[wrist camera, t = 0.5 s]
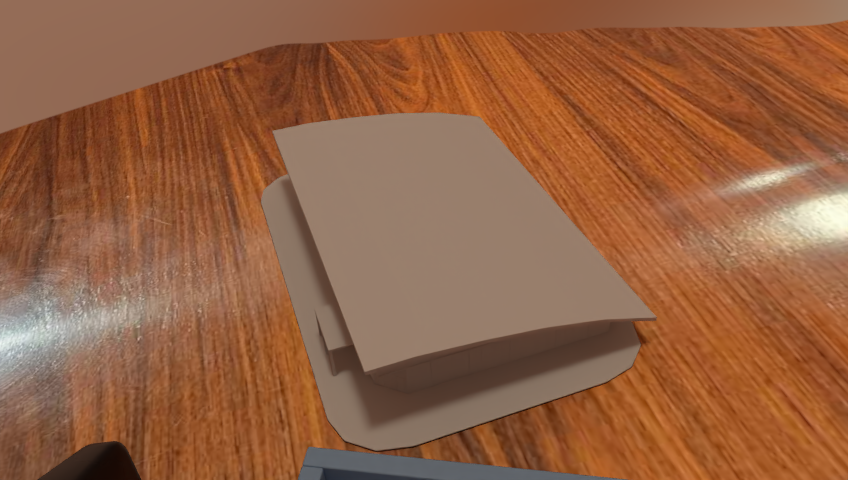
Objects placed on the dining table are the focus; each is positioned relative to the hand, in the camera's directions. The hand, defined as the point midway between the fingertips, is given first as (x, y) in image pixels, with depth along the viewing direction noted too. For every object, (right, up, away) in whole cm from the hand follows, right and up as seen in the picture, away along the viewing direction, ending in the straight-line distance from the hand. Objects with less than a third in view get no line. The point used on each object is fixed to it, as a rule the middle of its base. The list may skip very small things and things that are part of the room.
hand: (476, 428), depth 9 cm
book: (-1, +1, +31) cm, 31 cm away
